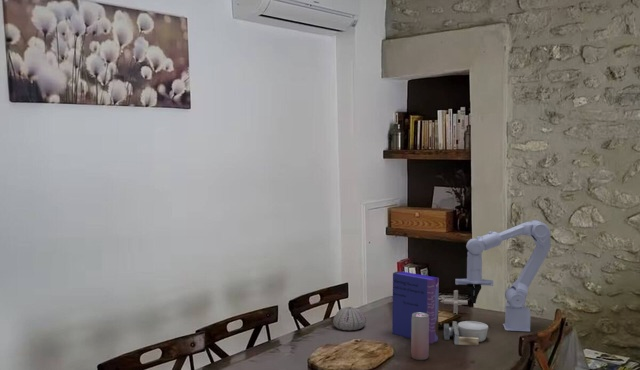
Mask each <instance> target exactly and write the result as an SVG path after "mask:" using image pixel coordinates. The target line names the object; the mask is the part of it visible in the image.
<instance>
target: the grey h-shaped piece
mask: <svg viewBox="0 0 640 370" xmlns="http://www.w3.org/2000/svg"><path fill="white" fill-rule="evenodd" d="M457 325H458V321H456V320H455V321H452V326H450V323H443V340H444V341H449V340H450V337H451V338H453V342H454V345H457V346H460V345H459V337H460V336H459V331H458V326H457Z"/></svg>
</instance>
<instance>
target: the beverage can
mask: <svg viewBox="0 0 640 370" xmlns="http://www.w3.org/2000/svg"><path fill="white" fill-rule="evenodd" d="M410 340H411V341H410V342H411V343H410V345H411V346H410V356H411V358H412V359H414V360H416V361H425V360H428V358H429V353H430V352H429V351H430V350H429V349H430V346H429V345H430V344H429V315H428V314H426V313H421V312H417V313H413V314H412V317H411V339H410Z"/></svg>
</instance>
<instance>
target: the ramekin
mask: <svg viewBox="0 0 640 370" xmlns="http://www.w3.org/2000/svg"><path fill="white" fill-rule="evenodd" d="M457 325H458V329H459V337H474V338H479V343H482V342H484V341H485V340H486V338H487V334H488V331H489V326H488V324H486V323H485V322H480V321H475V320H474V321H473V320H465V321H460V322H457Z"/></svg>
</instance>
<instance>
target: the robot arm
mask: <svg viewBox="0 0 640 370" xmlns="http://www.w3.org/2000/svg"><path fill="white" fill-rule="evenodd" d="M521 235H523V236H527V237H531V238H532V239H533V242H534V244H535V247H534V249H533V251H532V252H531V254H530V257H528V260H527V262H526V263H525V265H524V267H523V269H522V270H521V272H520V273H519V276H518V277H517V279H516V280H515V281H514V282H513V283H512V284H511V285H510V287H508V288H507V289H506V290H505V292H504V297H505V300H506V302H505V310H504V311H505V313H504V319H505V320H504V323H502V326H503V327H504V330H505V331H508V332H509V331H510V332H511V331H512V332H531V318H532V317H531V309H530V307H529V306H525V305H526V302H527V300H526V298H527V296H528V293H529V287H530V286H531V284H532V282H533V281H534V279H535V277H536V275H537V273H538V272H539V269H540V268H541V267H542V265H543V263H544V261H545V259H546V258H547V255H548V254H549V252H550V250H551V245H552V244H551V235H552V232H551V231H550V228H549V226H548V225H547V223H544V222H542V221H540V220H537V219H532V220H530V221H526V222H523V223H520V224H518V225H516V226H513V227H511V228H508V229H506V230H503V231H501V232H497V231H491V230H490V231H488V232H487V234H484V235H482V236H479V235H478V236H476V238H470V239H469V240H468V241H467V242H466V245H465V247H466V250H467V257H466V278H454V279H455V281H454V282H455V285H457V286H458V285H465V286H467V288H468V291H469V293H470V298H471V303H472V304H476V303H477V300H478V295H479V293H480V292H481V290H482V286H490V287H493V286H494V280H492V279H483V278H482V277H483V276H482V274H483V258H482V255H483V252H484V251H488V250H489V249H492V248H495V247H498V246H501V244H502V242H503V241H506V240H509V239H513V238H515V237H519V236H521Z"/></svg>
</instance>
